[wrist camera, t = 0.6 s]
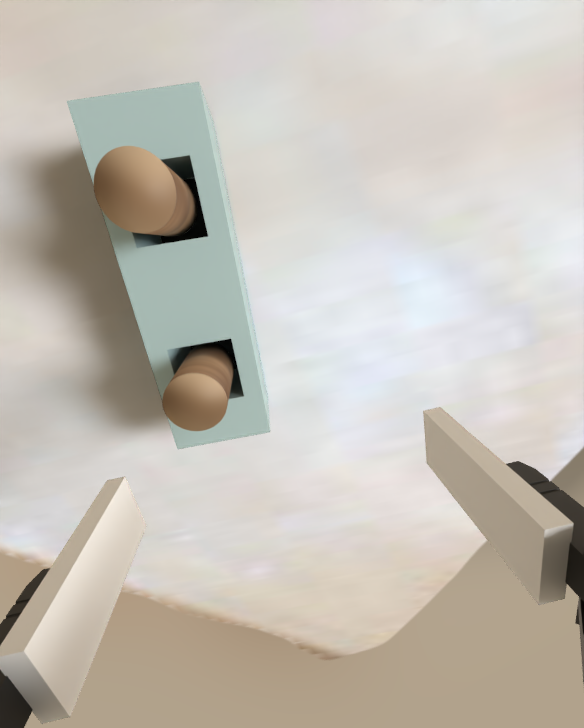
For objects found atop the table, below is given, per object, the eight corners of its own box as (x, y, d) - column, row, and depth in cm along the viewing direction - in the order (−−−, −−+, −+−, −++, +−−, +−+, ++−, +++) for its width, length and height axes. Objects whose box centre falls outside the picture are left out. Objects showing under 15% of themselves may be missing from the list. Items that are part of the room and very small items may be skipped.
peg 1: (131, 178, 27) (81, 152, 19) (189, 169, 27) (163, 140, 19) (149, 240, 28) (109, 239, 21) (204, 231, 28) (184, 226, 21)
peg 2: (179, 347, 31) (154, 380, 24) (228, 339, 31) (219, 368, 24) (191, 392, 33) (172, 436, 25) (238, 384, 33) (233, 425, 26)
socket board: (113, 136, 30) (66, 100, 23) (213, 121, 31) (198, 81, 23) (192, 411, 40) (177, 449, 32) (267, 397, 40) (270, 432, 33)
